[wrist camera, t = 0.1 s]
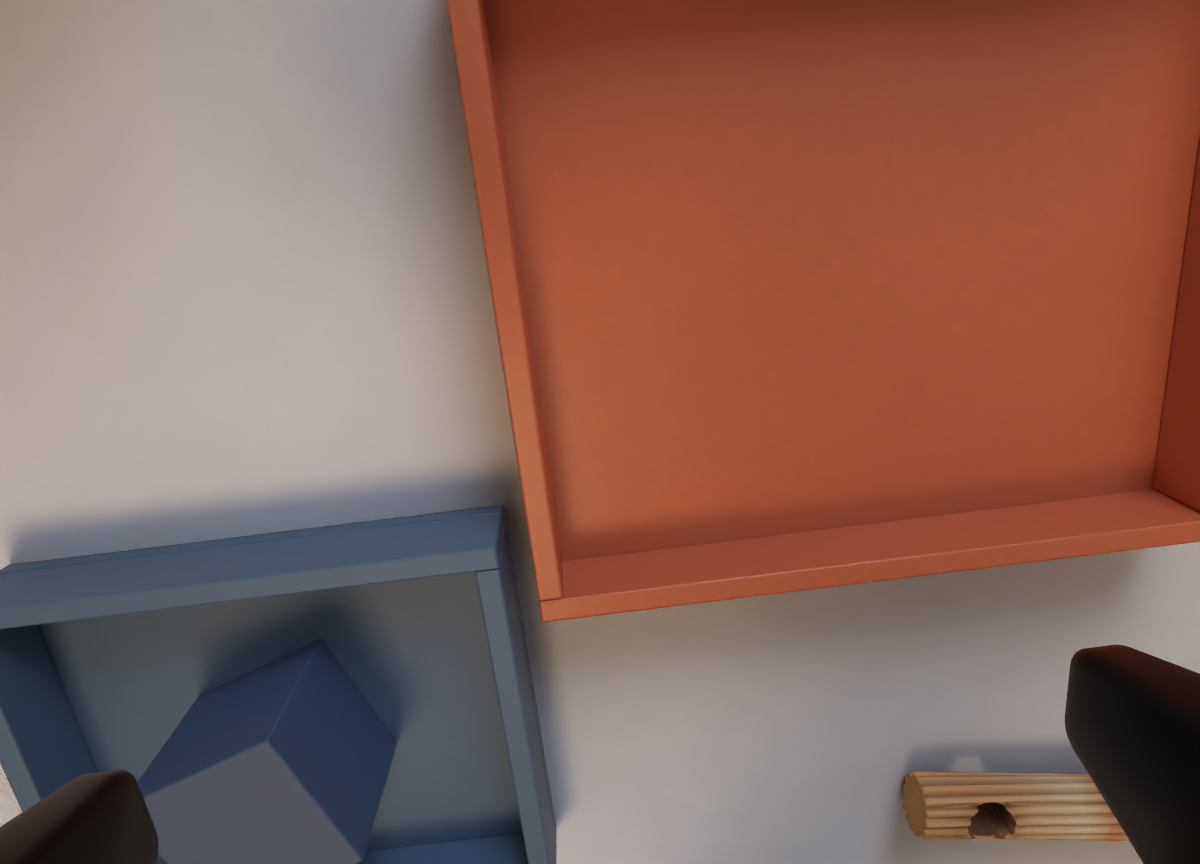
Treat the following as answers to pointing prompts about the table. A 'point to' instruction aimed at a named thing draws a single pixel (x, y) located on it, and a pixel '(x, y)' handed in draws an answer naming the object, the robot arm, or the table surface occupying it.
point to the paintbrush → (1008, 806)
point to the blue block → (272, 769)
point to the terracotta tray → (837, 285)
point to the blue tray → (276, 628)
